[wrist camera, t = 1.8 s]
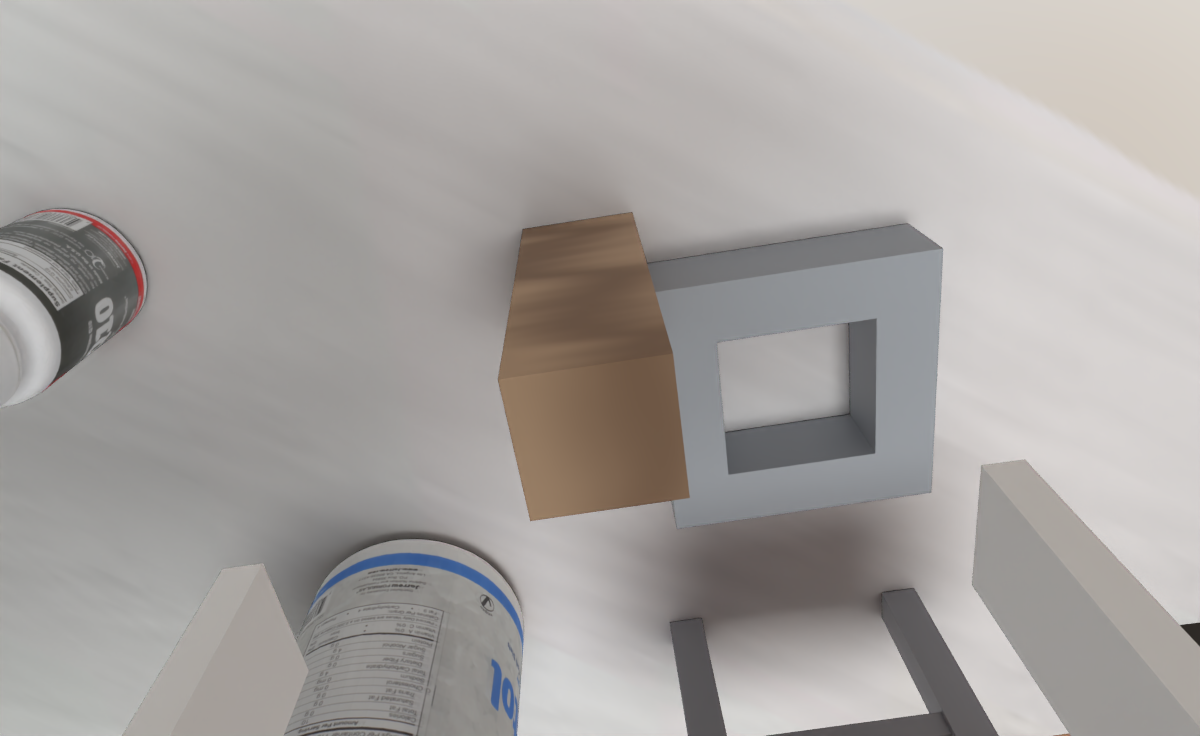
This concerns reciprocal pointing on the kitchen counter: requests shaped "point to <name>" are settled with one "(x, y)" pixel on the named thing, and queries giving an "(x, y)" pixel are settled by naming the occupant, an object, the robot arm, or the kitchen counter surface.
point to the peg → (590, 373)
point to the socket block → (876, 360)
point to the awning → (948, 732)
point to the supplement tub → (411, 646)
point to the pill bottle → (61, 296)
